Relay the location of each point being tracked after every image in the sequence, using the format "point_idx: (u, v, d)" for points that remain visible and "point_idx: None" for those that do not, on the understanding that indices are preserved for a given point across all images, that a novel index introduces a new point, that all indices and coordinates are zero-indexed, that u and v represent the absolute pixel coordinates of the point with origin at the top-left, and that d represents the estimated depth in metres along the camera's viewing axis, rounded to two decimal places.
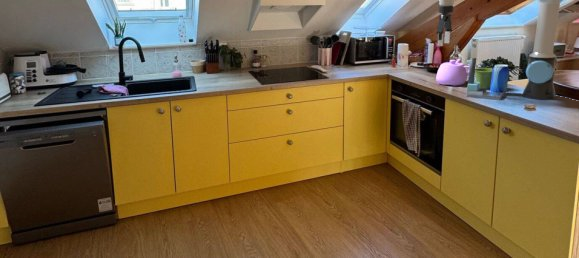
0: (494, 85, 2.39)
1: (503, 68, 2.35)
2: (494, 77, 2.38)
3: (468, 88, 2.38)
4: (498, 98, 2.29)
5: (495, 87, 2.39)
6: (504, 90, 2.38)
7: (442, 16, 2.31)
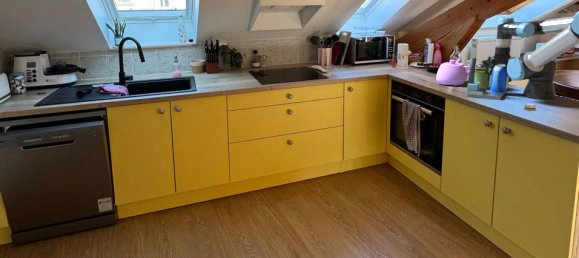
0: (494, 85, 2.39)
1: (503, 68, 2.35)
2: (494, 77, 2.38)
3: (468, 88, 2.38)
4: (498, 98, 2.29)
5: (495, 87, 2.39)
6: (504, 90, 2.38)
7: None
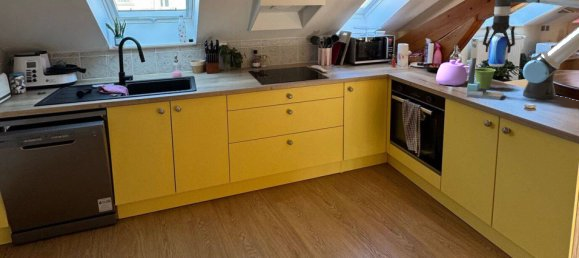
0: (492, 56, 2.27)
1: (502, 38, 2.23)
2: (492, 48, 2.26)
3: (468, 88, 2.38)
4: (498, 98, 2.29)
5: (493, 58, 2.27)
6: (503, 61, 2.26)
7: None
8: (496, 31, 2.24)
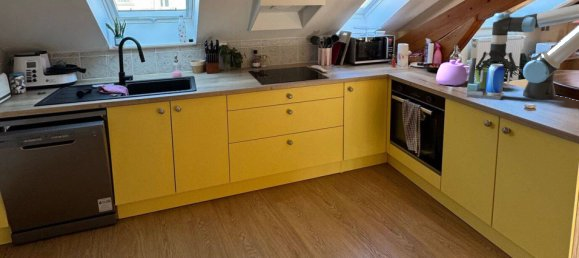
0: (489, 85, 2.32)
1: (498, 67, 2.27)
2: (490, 77, 2.31)
3: (468, 88, 2.38)
4: (498, 98, 2.29)
5: (490, 87, 2.31)
6: (500, 90, 2.31)
7: (483, 53, 2.32)
8: (492, 58, 2.29)
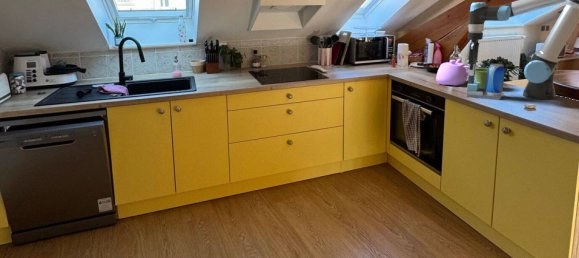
0: (489, 85, 2.32)
1: (499, 68, 2.27)
2: (490, 77, 2.31)
3: (468, 88, 2.38)
4: (498, 98, 2.29)
5: (490, 87, 2.31)
6: (500, 90, 2.31)
7: (472, 47, 2.28)
8: (476, 47, 2.32)
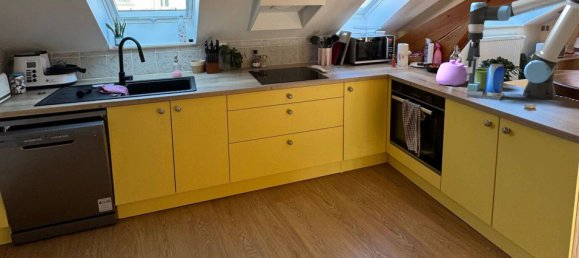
0: (489, 85, 2.32)
1: (499, 68, 2.27)
2: (490, 77, 2.31)
3: (468, 88, 2.37)
4: (498, 98, 2.29)
5: (490, 87, 2.31)
6: (500, 90, 2.31)
7: (472, 43, 2.27)
8: (476, 47, 2.31)
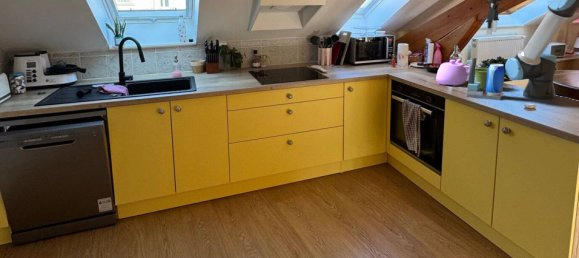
0: (489, 85, 2.32)
1: (499, 68, 2.27)
2: (490, 77, 2.31)
3: (468, 88, 2.37)
4: (498, 98, 2.29)
5: (490, 87, 2.31)
6: (500, 90, 2.31)
7: (492, 5, 2.33)
8: (495, 9, 2.37)
